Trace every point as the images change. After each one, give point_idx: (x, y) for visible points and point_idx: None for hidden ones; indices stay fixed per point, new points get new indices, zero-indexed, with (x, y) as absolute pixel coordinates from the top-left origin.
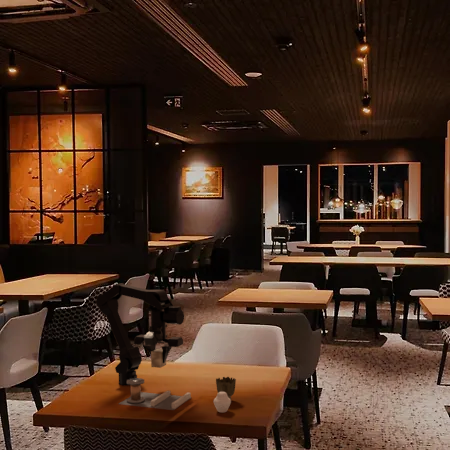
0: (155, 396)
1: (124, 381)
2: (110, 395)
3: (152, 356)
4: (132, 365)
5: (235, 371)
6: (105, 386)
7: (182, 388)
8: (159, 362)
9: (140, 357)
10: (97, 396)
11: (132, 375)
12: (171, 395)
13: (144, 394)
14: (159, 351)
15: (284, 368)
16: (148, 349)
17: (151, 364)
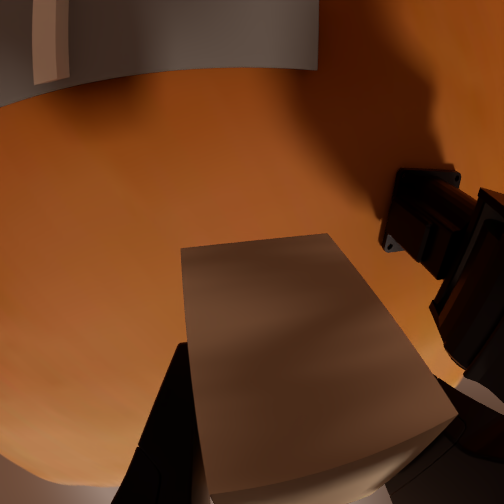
0: (139, 7)
1: (450, 188)
2: (444, 39)
3: (385, 346)
4: (491, 236)
5: (113, 464)
6: (490, 178)
7: (120, 294)
8: (206, 297)
9: (464, 355)
10: (479, 23)
11: (438, 225)
12: (42, 86)
13: (248, 20)
14: (275, 498)
15: (46, 479)
16: (497, 424)
17: (339, 251)
